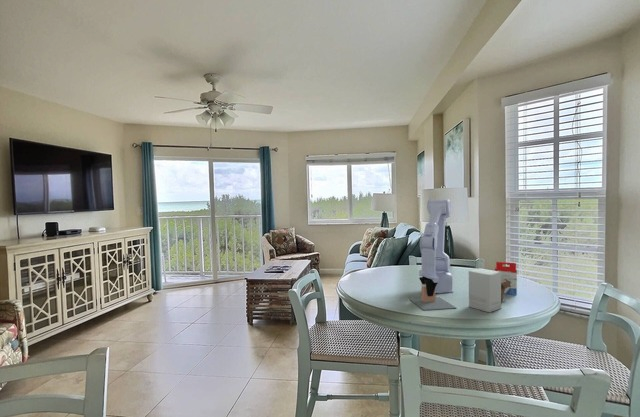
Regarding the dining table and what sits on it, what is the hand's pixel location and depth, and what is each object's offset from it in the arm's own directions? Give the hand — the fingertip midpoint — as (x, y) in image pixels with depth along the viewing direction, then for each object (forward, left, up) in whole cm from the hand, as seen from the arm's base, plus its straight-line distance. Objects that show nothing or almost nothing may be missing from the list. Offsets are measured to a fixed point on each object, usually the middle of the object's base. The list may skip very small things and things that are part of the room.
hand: (428, 294), depth 137 cm
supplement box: (-19, +10, -3) cm, 22 cm away
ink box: (-41, -7, -3) cm, 42 cm away
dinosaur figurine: (-29, +3, -3) cm, 29 cm away
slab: (0, 0, -2) cm, 3 cm away
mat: (0, +3, -3) cm, 4 cm away
